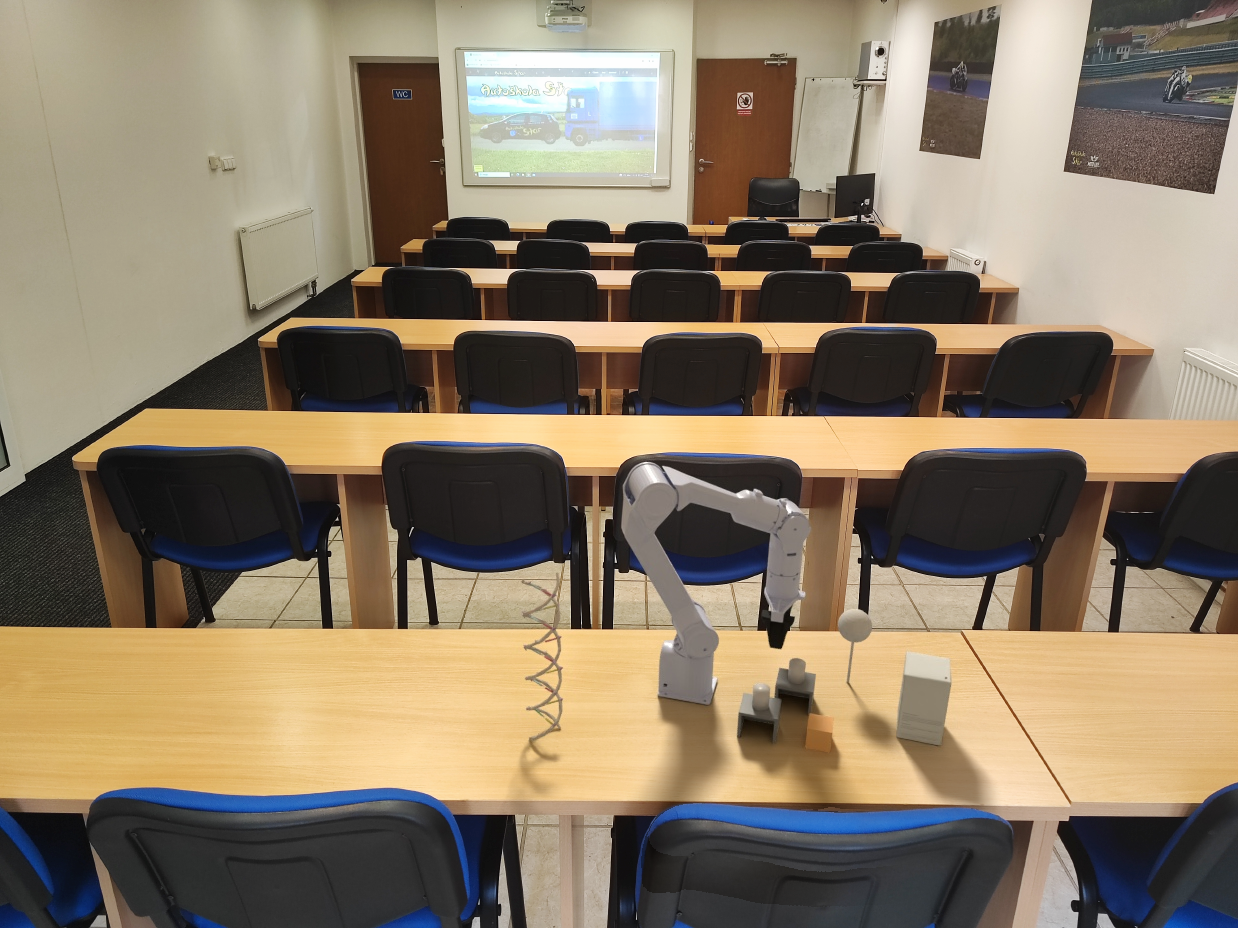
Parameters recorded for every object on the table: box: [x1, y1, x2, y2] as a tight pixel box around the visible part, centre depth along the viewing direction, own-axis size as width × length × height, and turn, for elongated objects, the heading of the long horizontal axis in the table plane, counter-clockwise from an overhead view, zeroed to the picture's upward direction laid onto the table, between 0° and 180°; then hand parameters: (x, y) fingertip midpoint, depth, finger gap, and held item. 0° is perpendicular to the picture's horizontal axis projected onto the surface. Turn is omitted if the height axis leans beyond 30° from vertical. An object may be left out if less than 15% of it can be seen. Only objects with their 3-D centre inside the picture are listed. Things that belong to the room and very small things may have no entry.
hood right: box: [773, 657, 817, 717], centre depth 154 cm, size 6×6×8 cm
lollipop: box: [837, 608, 873, 684], centre depth 158 cm, size 6×6×15 cm
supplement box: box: [896, 651, 952, 746], centre depth 147 cm, size 7×7×13 cm
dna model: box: [520, 572, 564, 741], centre depth 142 cm, size 7×6×30 cm
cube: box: [804, 712, 835, 753], centre depth 145 cm, size 4×4×4 cm
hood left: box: [736, 682, 782, 745], centre depth 147 cm, size 6×6×8 cm
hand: (778, 635), depth 158 cm, fingers open, 7 cm apart
